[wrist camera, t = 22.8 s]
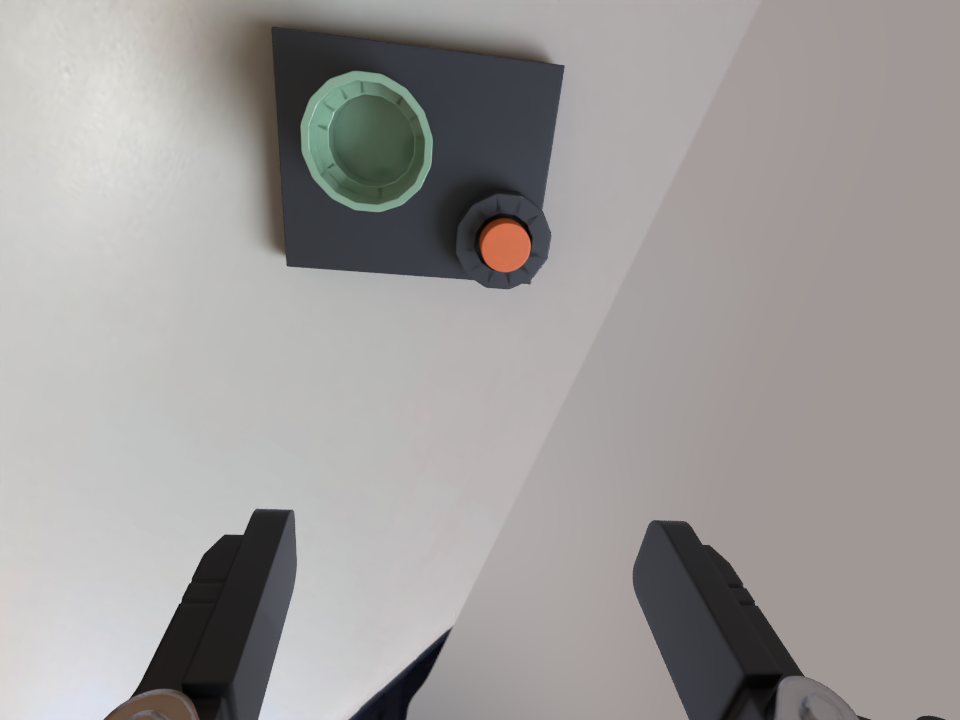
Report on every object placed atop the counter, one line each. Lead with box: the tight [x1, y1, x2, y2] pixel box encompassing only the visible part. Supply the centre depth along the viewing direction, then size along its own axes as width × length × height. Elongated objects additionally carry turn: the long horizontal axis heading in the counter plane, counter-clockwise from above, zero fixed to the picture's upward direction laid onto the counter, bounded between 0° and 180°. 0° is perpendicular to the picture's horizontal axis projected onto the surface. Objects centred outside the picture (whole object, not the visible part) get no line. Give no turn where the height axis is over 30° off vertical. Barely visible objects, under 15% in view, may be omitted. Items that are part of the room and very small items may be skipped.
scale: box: [272, 27, 564, 289], centre depth 31 cm, size 16×13×3 cm
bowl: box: [300, 71, 433, 212], centre depth 27 cm, size 6×6×5 cm
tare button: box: [479, 218, 531, 272], centre depth 31 cm, size 3×3×2 cm
